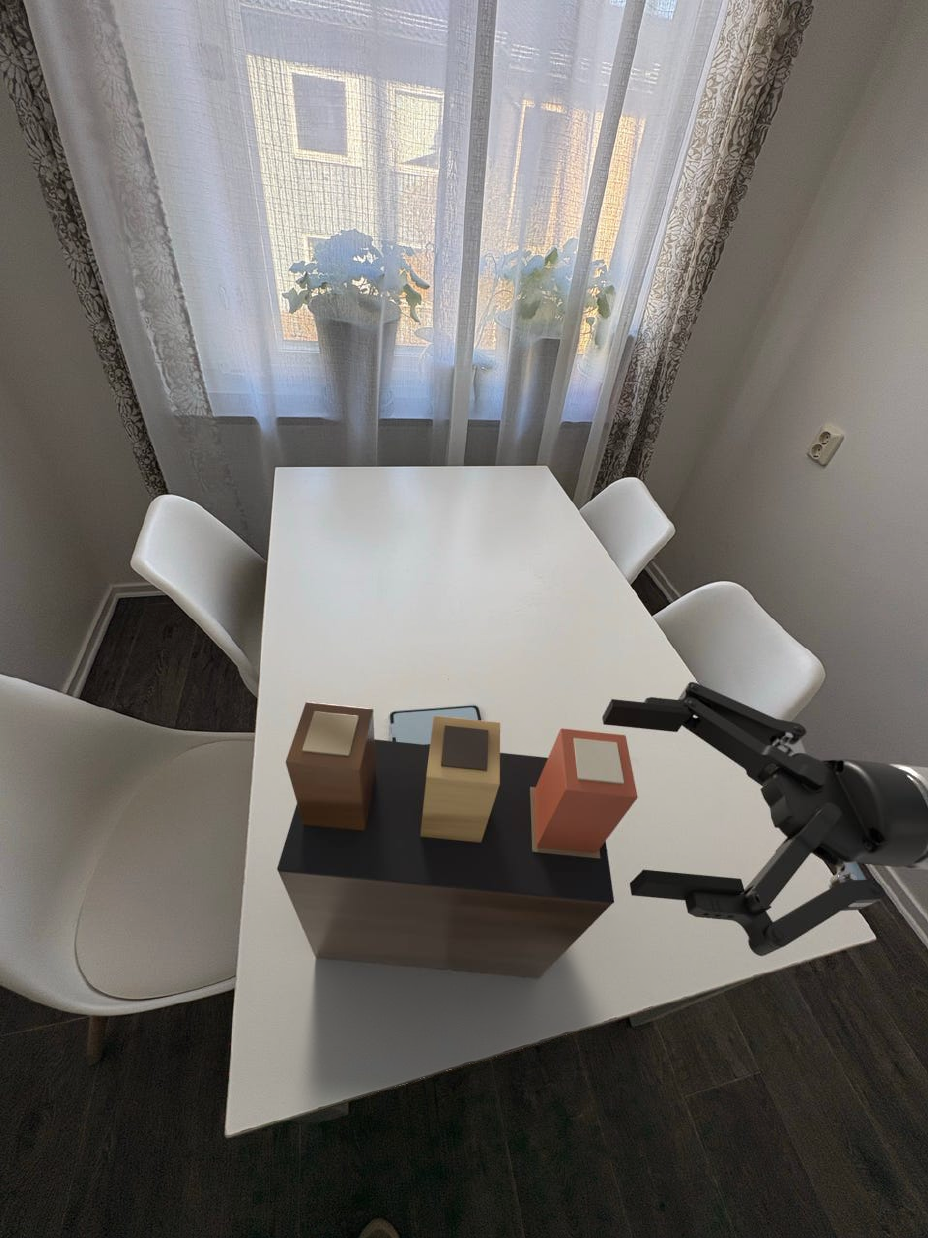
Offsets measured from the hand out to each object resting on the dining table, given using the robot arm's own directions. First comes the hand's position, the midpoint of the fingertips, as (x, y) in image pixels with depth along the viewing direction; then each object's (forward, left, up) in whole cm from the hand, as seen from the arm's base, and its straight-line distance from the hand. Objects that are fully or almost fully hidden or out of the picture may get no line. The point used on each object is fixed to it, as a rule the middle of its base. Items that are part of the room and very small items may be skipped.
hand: (619, 786), depth 39 cm
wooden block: (0, +22, -7) cm, 23 cm away
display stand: (0, +12, -35) cm, 38 cm away
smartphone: (+26, +14, -35) cm, 46 cm away
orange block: (0, +3, -7) cm, 7 cm away
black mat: (0, +12, -7) cm, 14 cm away
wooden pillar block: (0, +12, -7) cm, 14 cm away
